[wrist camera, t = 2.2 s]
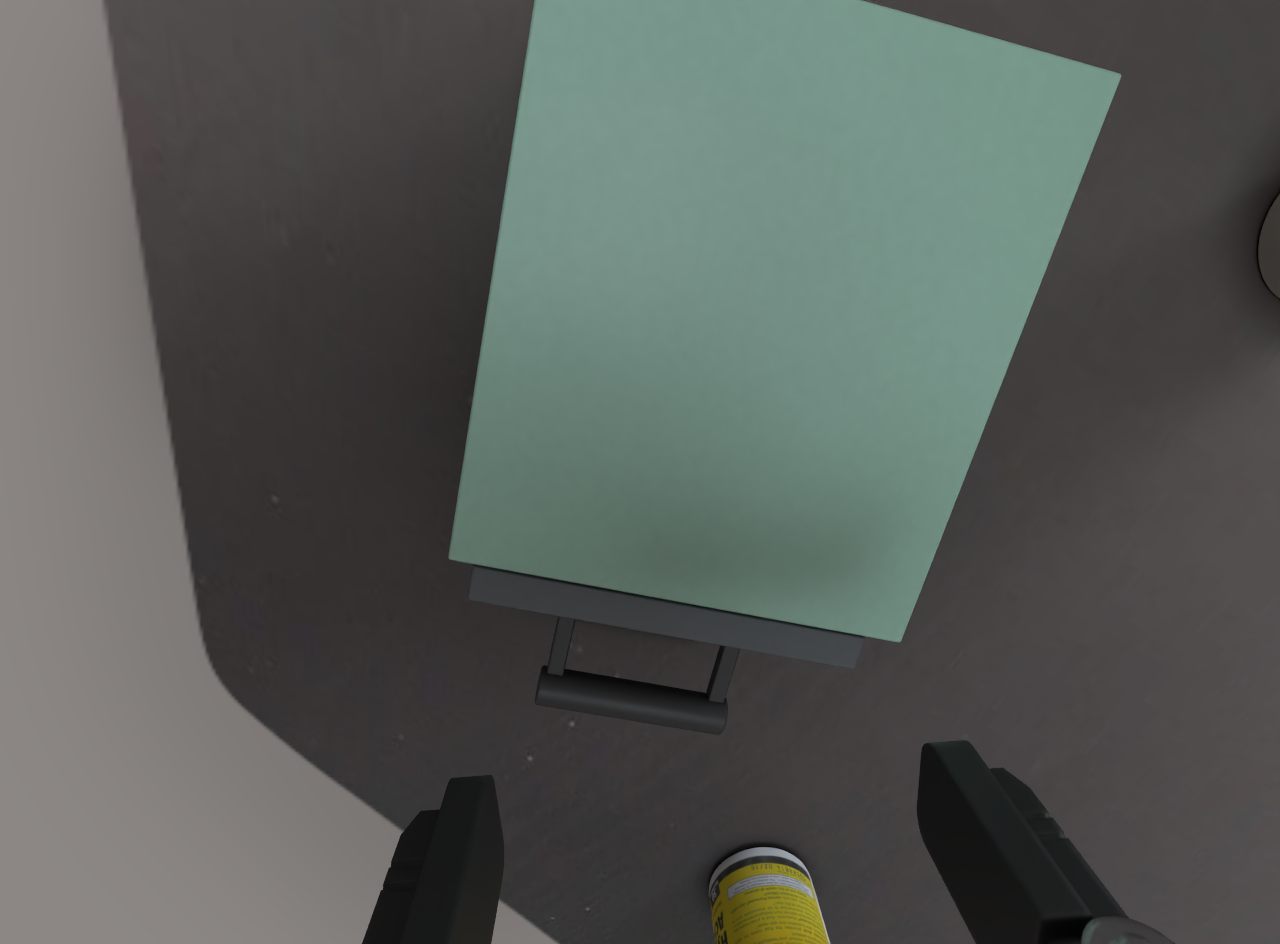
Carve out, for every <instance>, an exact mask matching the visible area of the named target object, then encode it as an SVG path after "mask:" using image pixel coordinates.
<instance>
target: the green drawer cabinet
mask: <svg viewBox="0 0 1280 944" xmlns="http://www.w3.org/2000/svg"><path fill="white" fill-rule="evenodd" d="M1120 78H1121V74H1119V73H1116V72H1112V71H1109V70H1105V69H1102V68H1098V67H1095V66H1091V65H1088V64H1084V63H1081V62H1077V61H1074V60H1070V59H1067V58H1063V57H1060V56H1056V55H1053V54H1049V53H1046V52H1042V51H1039V50H1035V49H1032V48H1028V47H1025V46H1021V45H1018V44H1014V43H1011V42H1007V41H1004V40H1000V39H996V38H993V37H989V36H986V35H982V34H979V33H975V32H972V31H968V30H965V29H961V28H958V27H954V26H951V25H947V24H944V23H940V22H937V21H933V20H930V19H926V18H923V17H919V16H916V15H912V14H909V13H905V12H902V11H898V10H895V9H891V8H888V7H884V6H881V5H877V4H874V3H870V2H866V1H863V0H534V6H533V12H532V19H531V25H530V32H529V38H528V45H527V51H526V58H525V64H524V71H523V77H522V84H521V90H520V97H519V103H518V109H517V116H516V122H515V129H514V135H513V142H512V148H511V155H510V161H509V168H508V174H507V181H506V187H505V194H504V200H503V207H502V213H501V220H500V226H499V233H498V239H497V245H496V252H495V258H494V265H493V271H492V278H491V284H490V291H489V297H488V304H487V310H486V317H485V323H484V330H483V336H482V343H481V349H480V356H479V362H478V369H477V375H476V382H475V388H474V394H473V401H472V407H471V414H470V420H469V427H468V433H467V440H466V446H465V453H464V459H463V466H462V472H461V479H460V485H459V492H458V498H457V505H456V511H455V518H454V524H453V530H452V537H451V543H450V550H449V556H448V557H449V559H450V560H455V561H460V562H466V563H471V564H476V565H482V566H487V567H493V568H498V569H504V570H509V571H514V572H520V573H525V574H531V575H536V576H542V577H547V578H552V579H558V580H563V581H569V582H574V583H580V584H585V585H590V586H596V587H601V588H607V589H612V590H617V591H623V592H628V593H634V594H639V595H645V596H650V597H655V598H661V599H666V600H672V601H677V602H683V603H688V604H693V605H699V606H704V607H710V608H715V609H720V610H726V611H731V612H737V613H742V614H748V615H753V616H758V617H764V618H769V619H775V620H780V621H786V622H791V623H796V624H802V625H807V626H813V627H818V628H824V629H829V630H834V631H840V632H845V633H851V634H856V635H861V636H867V637H872V638H878V639H883V640H889V641H894V642H901V640H902V637H903V634H904V632H905V629H906V627H907V624H908V622H909V619H910V617H911V614H912V611H913V609H914V606H915V604H916V601H917V599H918V596H919V593H920V591H921V588H922V586H923V583H924V581H925V578H926V576H927V573H928V570H929V568H930V565H931V563H932V560H933V558H934V555H935V552H936V550H937V547H938V545H939V542H940V540H941V537H942V535H943V532H944V529H945V527H946V524H947V522H948V519H949V517H950V514H951V511H952V509H953V506H954V504H955V501H956V499H957V496H958V494H959V491H960V488H961V486H962V483H963V481H964V478H965V476H966V473H967V470H968V468H969V465H970V463H971V460H972V458H973V455H974V453H975V450H976V447H977V445H978V442H979V440H980V437H981V435H982V432H983V429H984V427H985V424H986V422H987V419H988V417H989V414H990V412H991V409H992V406H993V404H994V401H995V399H996V396H997V394H998V391H999V388H1000V386H1001V383H1002V381H1003V378H1004V376H1005V373H1006V371H1007V368H1008V365H1009V363H1010V360H1011V358H1012V355H1013V353H1014V350H1015V347H1016V345H1017V342H1018V340H1019V337H1020V335H1021V332H1022V330H1023V327H1024V324H1025V322H1026V319H1027V317H1028V314H1029V312H1030V309H1031V306H1032V304H1033V301H1034V299H1035V296H1036V294H1037V291H1038V289H1039V286H1040V283H1041V281H1042V278H1043V276H1044V273H1045V271H1046V268H1047V265H1048V263H1049V260H1050V258H1051V255H1052V253H1053V250H1054V248H1055V245H1056V242H1057V240H1058V237H1059V235H1060V232H1061V230H1062V227H1063V224H1064V222H1065V219H1066V217H1067V214H1068V212H1069V209H1070V207H1071V204H1072V201H1073V199H1074V196H1075V194H1076V191H1077V189H1078V186H1079V183H1080V181H1081V178H1082V176H1083V173H1084V171H1085V168H1086V166H1087V163H1088V160H1089V158H1090V155H1091V153H1092V150H1093V148H1094V145H1095V142H1096V140H1097V137H1098V135H1099V132H1100V130H1101V127H1102V125H1103V122H1104V119H1105V117H1106V114H1107V112H1108V109H1109V107H1110V104H1111V101H1112V99H1113V96H1114V94H1115V91H1116V89H1117V86H1118V84H1119V81H1120Z"/></svg>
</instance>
